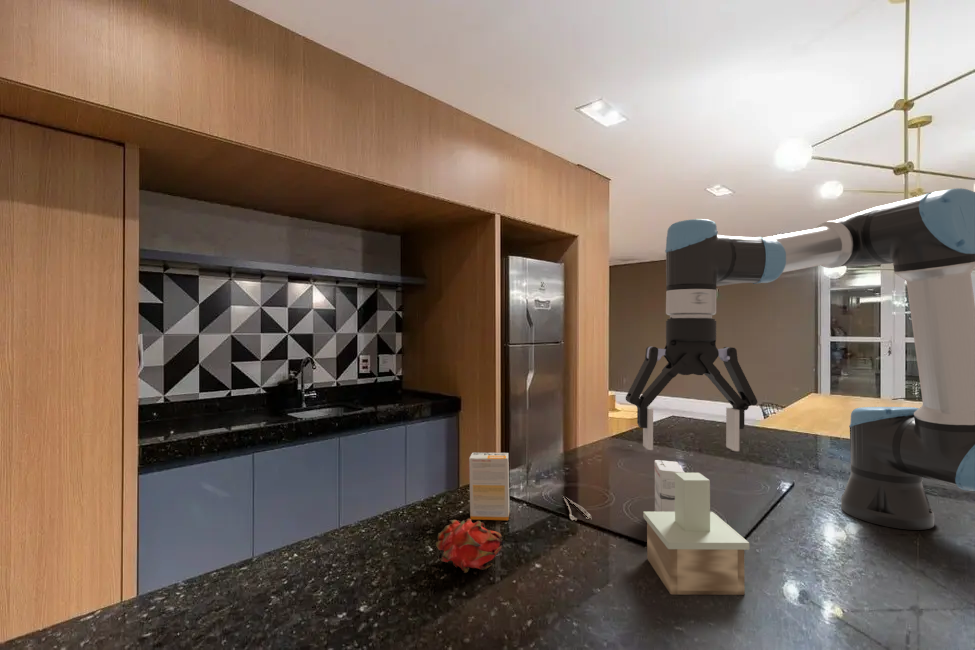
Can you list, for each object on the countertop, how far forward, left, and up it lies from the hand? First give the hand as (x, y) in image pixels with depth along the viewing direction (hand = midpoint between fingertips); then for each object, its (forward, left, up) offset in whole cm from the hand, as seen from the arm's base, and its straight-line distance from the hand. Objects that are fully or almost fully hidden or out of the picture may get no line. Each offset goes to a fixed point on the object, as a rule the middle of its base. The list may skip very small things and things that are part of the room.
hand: (690, 448), depth 77 cm
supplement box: (+33, -24, -21) cm, 46 cm away
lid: (0, 0, -15) cm, 15 cm away
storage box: (0, 0, -21) cm, 21 cm away
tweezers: (+15, -31, -21) cm, 40 cm away
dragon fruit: (+36, -3, -21) cm, 41 cm away
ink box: (-4, -21, -21) cm, 30 cm away
